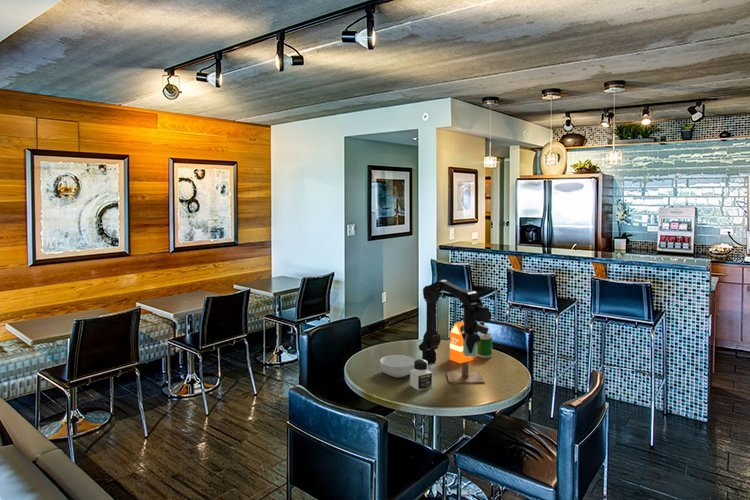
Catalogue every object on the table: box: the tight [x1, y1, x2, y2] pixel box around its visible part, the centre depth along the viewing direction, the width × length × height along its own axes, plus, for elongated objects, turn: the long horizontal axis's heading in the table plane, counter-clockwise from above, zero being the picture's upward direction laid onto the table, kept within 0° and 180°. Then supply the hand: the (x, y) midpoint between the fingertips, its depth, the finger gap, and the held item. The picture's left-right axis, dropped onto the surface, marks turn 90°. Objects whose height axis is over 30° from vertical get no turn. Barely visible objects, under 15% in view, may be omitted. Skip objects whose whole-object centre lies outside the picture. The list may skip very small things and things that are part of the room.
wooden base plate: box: [445, 362, 486, 385], centre depth 230 cm, size 16×12×7 cm
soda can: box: [476, 332, 493, 359], centre depth 261 cm, size 8×8×12 cm
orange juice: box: [449, 321, 473, 364], centre depth 256 cm, size 8×9×20 cm
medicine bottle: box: [409, 358, 433, 392], centre depth 220 cm, size 7×7×12 cm
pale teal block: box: [463, 339, 477, 357], centre depth 232 cm, size 5×5×7 cm
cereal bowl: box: [379, 354, 416, 379], centre depth 236 cm, size 17×17×7 cm
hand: (469, 351), depth 232 cm, fingers closed on pale teal block, 5 cm apart
